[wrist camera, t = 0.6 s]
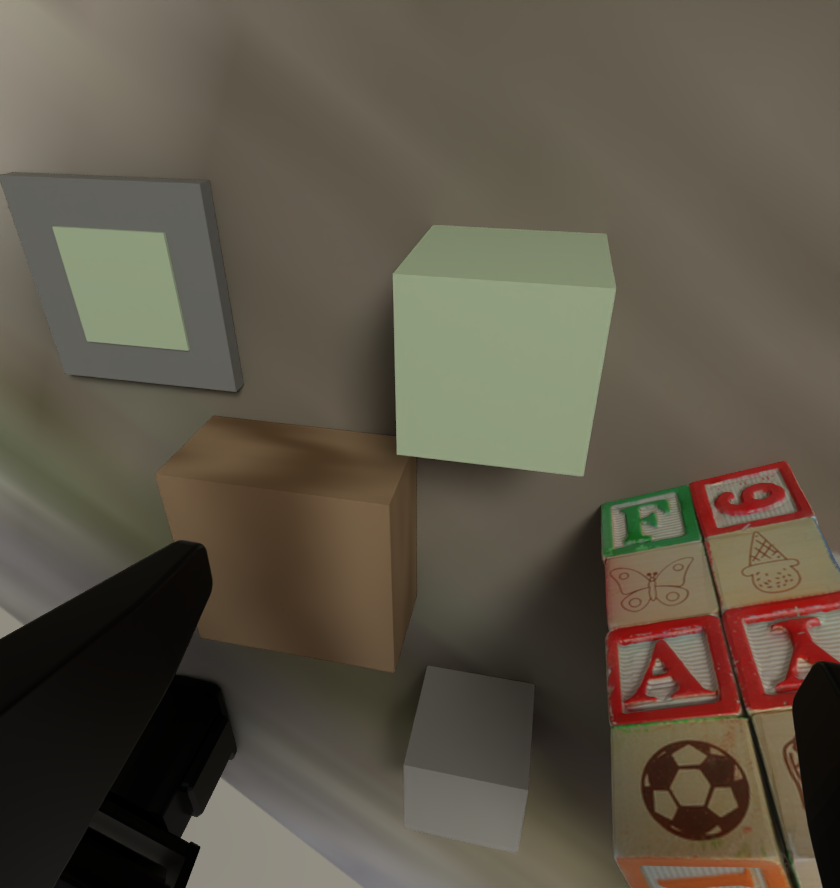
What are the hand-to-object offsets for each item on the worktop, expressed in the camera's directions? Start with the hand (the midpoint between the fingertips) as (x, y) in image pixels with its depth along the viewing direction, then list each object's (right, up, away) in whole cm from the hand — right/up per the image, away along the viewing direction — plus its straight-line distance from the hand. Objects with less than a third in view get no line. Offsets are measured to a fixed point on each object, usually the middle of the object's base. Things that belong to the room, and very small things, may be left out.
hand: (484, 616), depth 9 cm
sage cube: (+2, +7, +10) cm, 12 cm away
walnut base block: (-5, 0, +16) cm, 17 cm away
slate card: (-11, +8, +12) cm, 18 cm away
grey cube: (+2, -10, +21) cm, 23 cm away
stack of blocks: (+13, -7, +17) cm, 22 cm away
